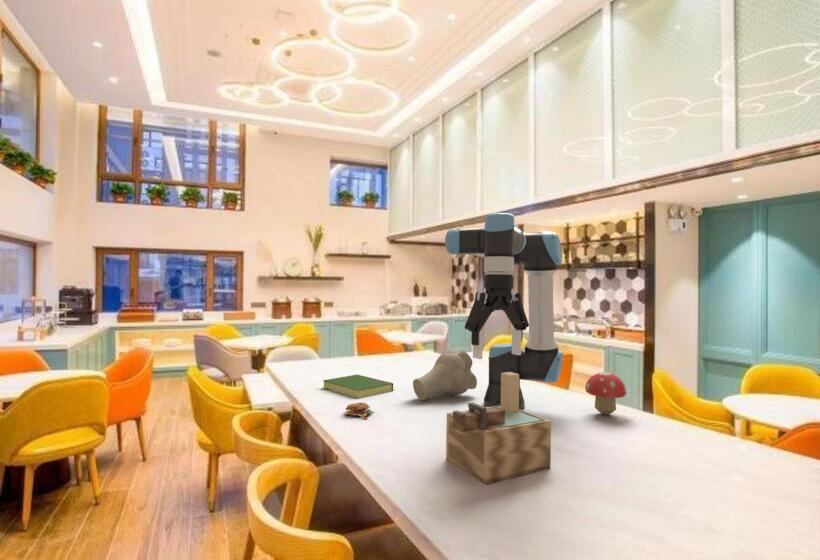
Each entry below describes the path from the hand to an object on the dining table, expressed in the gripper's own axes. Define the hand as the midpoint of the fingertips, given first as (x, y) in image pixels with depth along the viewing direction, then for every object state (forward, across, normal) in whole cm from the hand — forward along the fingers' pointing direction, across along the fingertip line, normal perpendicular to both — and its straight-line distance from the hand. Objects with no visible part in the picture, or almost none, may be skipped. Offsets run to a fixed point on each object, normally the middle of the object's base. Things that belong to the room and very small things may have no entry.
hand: (497, 356), depth 119 cm
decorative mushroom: (+27, -64, -12) cm, 71 cm away
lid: (+17, -2, +1) cm, 17 cm away
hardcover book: (+28, -6, -90) cm, 95 cm away
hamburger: (+28, +10, -55) cm, 63 cm away
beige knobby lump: (+27, -28, -62) cm, 74 cm away
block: (+15, +9, +4) cm, 18 cm away
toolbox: (+27, +2, 0) cm, 28 cm away
